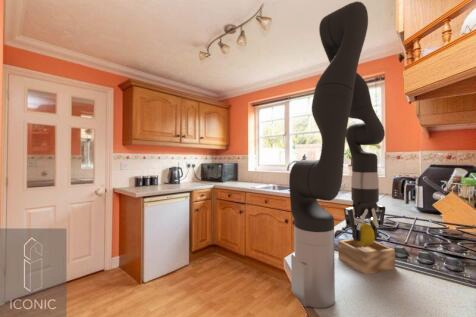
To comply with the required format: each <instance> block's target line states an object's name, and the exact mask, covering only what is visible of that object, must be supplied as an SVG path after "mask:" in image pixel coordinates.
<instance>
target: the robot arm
mask: <svg viewBox="0 0 476 317" xmlns="http://www.w3.org/2000/svg"><path fill="white" fill-rule="evenodd" d="M368 25H369V13H368V9H367V6H365V3H363V2H362V1H353V2H351V3H347V4H345V5H344V6H342V7H339V9H337V10H335V11H332V12H330V13H329V14H326V16H324V17H323V18H321V20H320V23H319V28H318V32H319V38H320V42H321V45H322V48H323V49H324V53H325V55H326V57H327V59H328V62H329V64H328V65H327V67H326V68H325V70H324V71H323V72H322V74H321V75H320V77H319V78H318V80H317V82H316V84H315V87H314V91H313V96H312V102H311V114H312V116H313V119H314V122H315V124H316V126H317V128H318V131H319V133H320V136H321V150H320V155H319V159H302V160H301V159H300V160H297V161H296V162H294V163H293V165H292V167H291V169H290V173H289V177H288V178H289V180H288V184H289V185H288V186H289V187H288V188H289V203H290V211H291V212H290V213H291V215H292V216H291V217H293V223H294V225H293V228H294V230H293V232H294V234H293V235H294V237H293V238H294V241H293V242H294V245H293V247H294V253H293V254H291V255H290V256H291V257H290V260H291V261H290V263H291V264H290V265H291V266H290V268H291V293H292V294H293V295H294V296H295V297H296V299H297V301H299V302H300V304H301V305H302V306H303V307H311V308H314V309H315V308H317V309H325V308H329V307H331V306H333V305H334V303H335V301H336V300H335V299H336V290H335V289H336V286H335V284H336V281H335V280H336V278H335V274H336V272H335V270H336V268H335V218H334V216H333V214H332V213H330V212H328V210H326V209H325V208H323V206H321V205H320V203H319V202H318V200H320V201H325V202H326V201H327V202H328V201H332V200H334V199H335V198H337V196H338V195H339V193H340V190H341V187H342V182H343V174H344V162H345V148H346V143H347V145H348V149H349V153H350V156H351V178H350V180H351V181H350V182H351V183H350V184H351V185H350V186H351V188H350V189H351V190H350V192H351V198H350V199H351V200H352V205H351V207H344V208H343V213H344V219H345V225H346V226H347V227H349V228H351V233H352V235H351V237H352V239H354V240H355V241H357V242H358V241H360V230H359V229H360V227H361V224H362V223H363V222H365V220H367V222H368V224H369V225H370V226H371V227H372V228H373V230H374V234H375V239H374V240H377V239H378V228H379V226H383V225H384V222H385V214H386V206H384V205H380V204H378V202H380V201H379V198H380V194H379V192H380V189H379V188H380V184H379V183H380V182H379V174H378V173H379V172H378V170H379V169H378V165H379V164H378V163H379V162H378V156H377V154H376V153H373V152H368V151H364V149H363V148H362V146H371V145H372V146H374V145H376V146H377V145H380V144H381V143H382V141H383V140H384V138H385V136H386V133H385V128H384V125H383V124H382V122H381V120H380V118H379V117H378V115H377V113H376V111H375V109H374V107H373V104H372V97H371V93H370V89H369V86H368V84H367V81H365V79H364V78H363V76H362V75H360V73H358V71H357V70H358V67H359V63H360V62H359V61H360V57H361V53H362V50H363V46H364V43H365V40H366V36H367V32H368V27H369V26H368ZM349 119H355V120H360V121H362V122H356V123H352V124H350V125H349V124H348V123H349Z"/></svg>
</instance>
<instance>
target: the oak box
mask: <svg viewBox="0 0 476 317" xmlns="http://www.w3.org/2000/svg"><path fill="white" fill-rule="evenodd" d="M337 242H338V259H340V260H341V261H343V262H345V263H347V264H348V265H350V266H351V267H352V268H355V269H356V270H358V271H359V272H361V273H363V274H364V275H370V274H374V273H380V272H383V271H390V270H394V269H396V250H395V248H393V247H391V246H388V245H385V244H383V243H380V242H378V241H376V240H374V242H373V243H372V244H371V245H369V246H367V247H363V246H362V245H361V244H359V243H358V242H357V241H355V240H354V239H353V238H349V239H348V238H347V239H343V240H338V241H337Z"/></svg>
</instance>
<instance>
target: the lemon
mask: <svg viewBox="0 0 476 317" xmlns="http://www.w3.org/2000/svg"><path fill="white" fill-rule="evenodd" d="M359 230H360V241H358V243H359V244H361V245H362V246H363V247H367V246H369V245H371V244H372V243H373V242H374V241H375V240H376V239H375V234H374V230H373V228H372V227H371V225H370V224H369V223H367V222H365V221H364V222H363V223H362V224H361V227H360V229H359Z"/></svg>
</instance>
